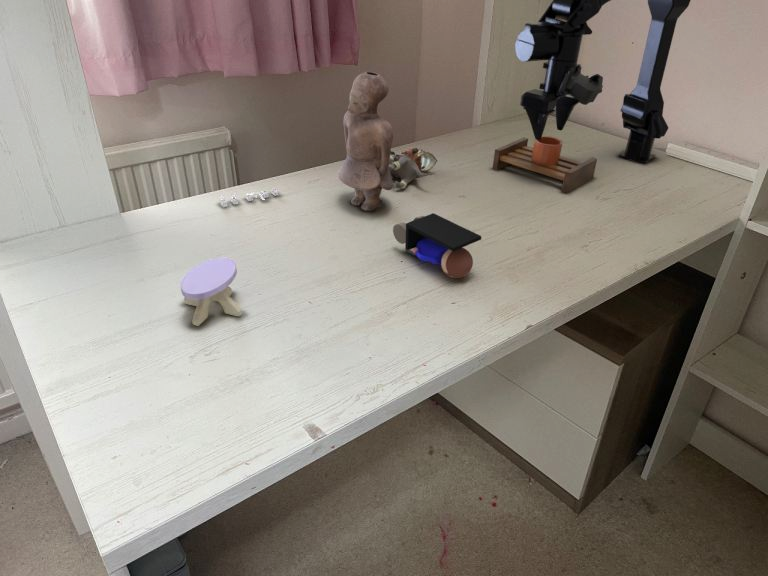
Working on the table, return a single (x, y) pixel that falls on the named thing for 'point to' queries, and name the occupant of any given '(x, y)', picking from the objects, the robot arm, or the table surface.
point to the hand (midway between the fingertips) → (549, 134)
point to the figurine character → (438, 243)
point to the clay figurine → (367, 142)
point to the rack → (564, 170)
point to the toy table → (210, 287)
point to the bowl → (547, 150)
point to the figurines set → (248, 197)
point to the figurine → (410, 165)
